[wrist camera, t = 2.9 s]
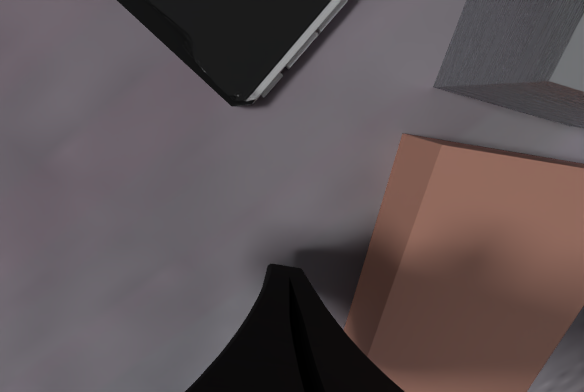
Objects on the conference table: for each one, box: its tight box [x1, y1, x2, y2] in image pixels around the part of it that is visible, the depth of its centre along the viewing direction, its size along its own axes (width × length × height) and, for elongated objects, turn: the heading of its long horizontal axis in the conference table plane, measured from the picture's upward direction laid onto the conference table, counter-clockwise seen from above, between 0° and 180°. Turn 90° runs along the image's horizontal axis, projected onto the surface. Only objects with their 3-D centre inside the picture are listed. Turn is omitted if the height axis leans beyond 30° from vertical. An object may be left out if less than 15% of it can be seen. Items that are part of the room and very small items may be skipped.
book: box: [344, 134, 584, 392], centre depth 12 cm, size 14×8×3 cm, turn 171°
